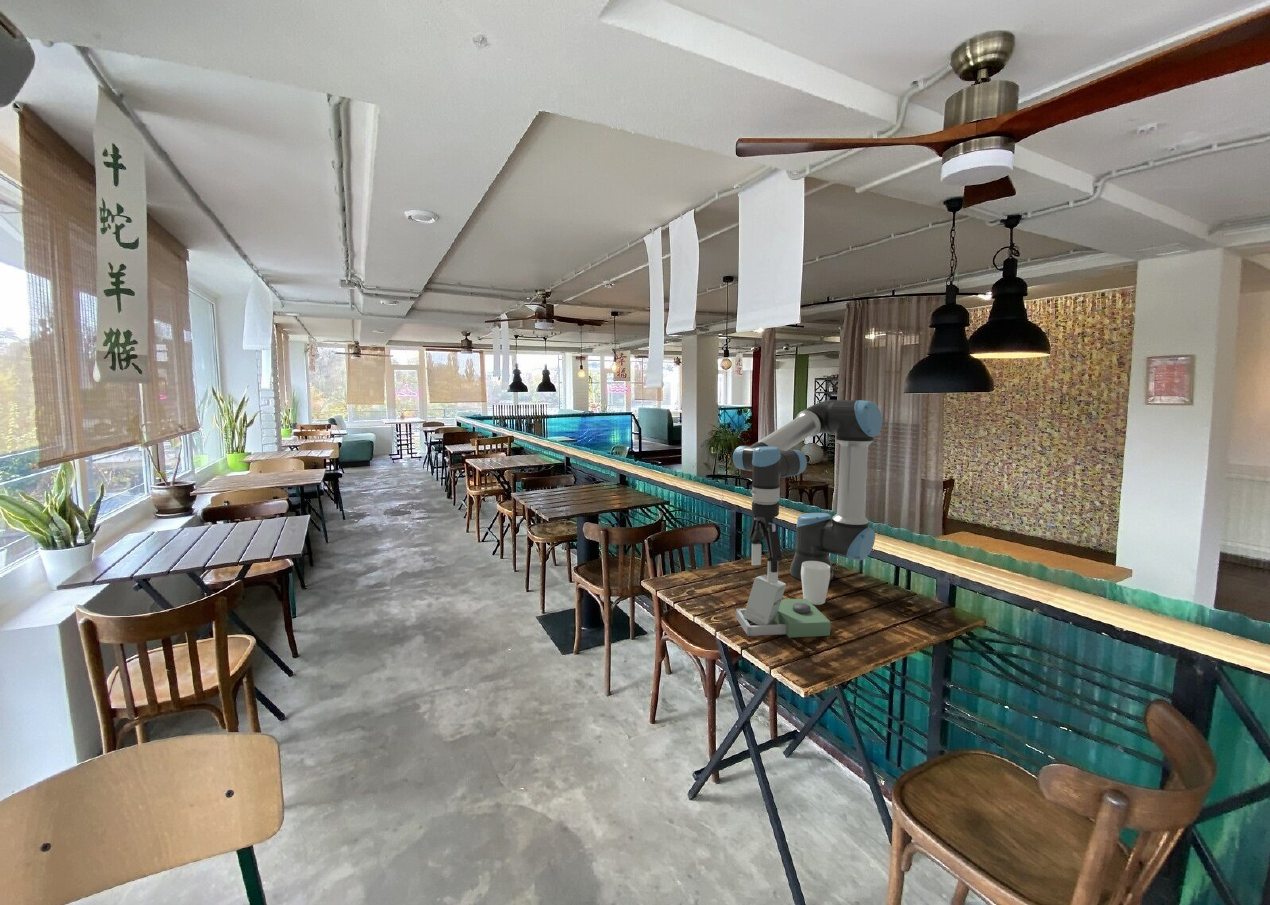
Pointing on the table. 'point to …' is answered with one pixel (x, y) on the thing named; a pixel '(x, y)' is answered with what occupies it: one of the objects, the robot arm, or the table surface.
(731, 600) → the table surface
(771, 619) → the supplement box
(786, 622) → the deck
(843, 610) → the table surface
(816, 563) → the cup
